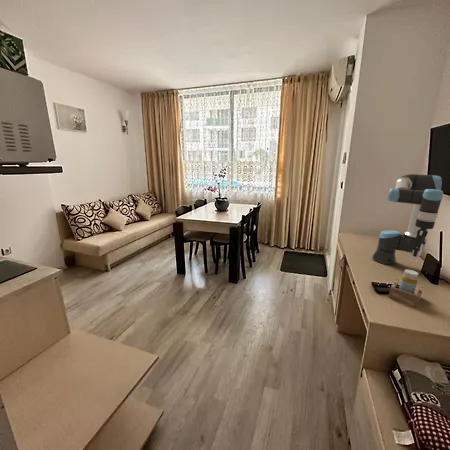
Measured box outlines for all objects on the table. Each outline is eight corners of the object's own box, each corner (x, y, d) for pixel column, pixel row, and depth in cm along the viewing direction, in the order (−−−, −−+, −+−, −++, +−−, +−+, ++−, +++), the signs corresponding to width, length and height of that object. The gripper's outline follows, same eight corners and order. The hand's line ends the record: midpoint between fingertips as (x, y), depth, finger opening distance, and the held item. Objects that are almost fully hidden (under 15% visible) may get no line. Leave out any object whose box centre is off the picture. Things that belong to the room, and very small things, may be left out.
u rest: (393, 288, 145) (396, 279, 144) (420, 297, 137) (423, 287, 135) (388, 297, 135) (390, 287, 134) (416, 307, 127) (419, 297, 125)
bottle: (415, 300, 133) (422, 275, 129) (400, 298, 134) (407, 274, 130) (408, 293, 140) (415, 270, 135) (395, 292, 141) (401, 268, 137)
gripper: (420, 214, 136) (410, 250, 142) (412, 222, 119) (402, 262, 125) (437, 217, 131) (427, 254, 137) (432, 225, 114) (420, 267, 120)
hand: (415, 258), depth 131 cm, fingers open, 13 cm apart
